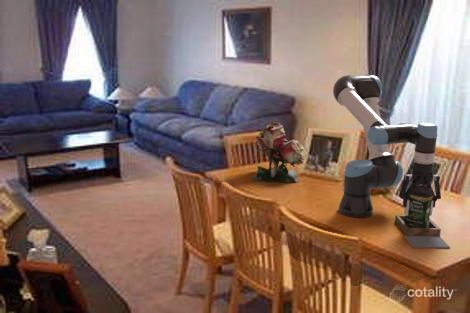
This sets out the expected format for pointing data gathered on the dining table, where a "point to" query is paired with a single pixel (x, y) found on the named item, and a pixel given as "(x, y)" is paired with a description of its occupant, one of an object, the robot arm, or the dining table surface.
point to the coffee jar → (419, 207)
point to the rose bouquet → (278, 155)
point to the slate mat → (426, 242)
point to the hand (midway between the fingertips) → (417, 214)
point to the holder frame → (430, 231)
